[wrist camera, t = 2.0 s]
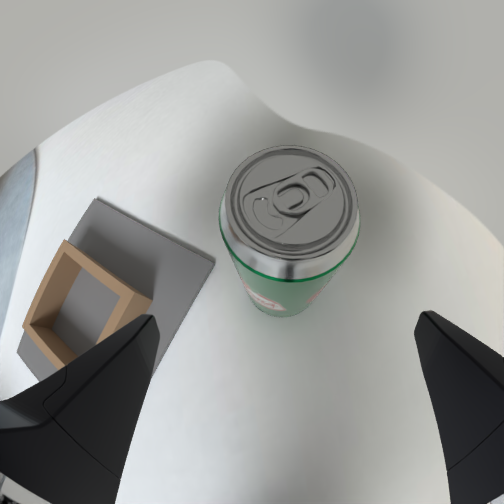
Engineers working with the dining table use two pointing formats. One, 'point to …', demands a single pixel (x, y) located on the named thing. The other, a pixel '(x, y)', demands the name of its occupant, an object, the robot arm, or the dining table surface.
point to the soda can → (288, 225)
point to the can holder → (108, 289)
